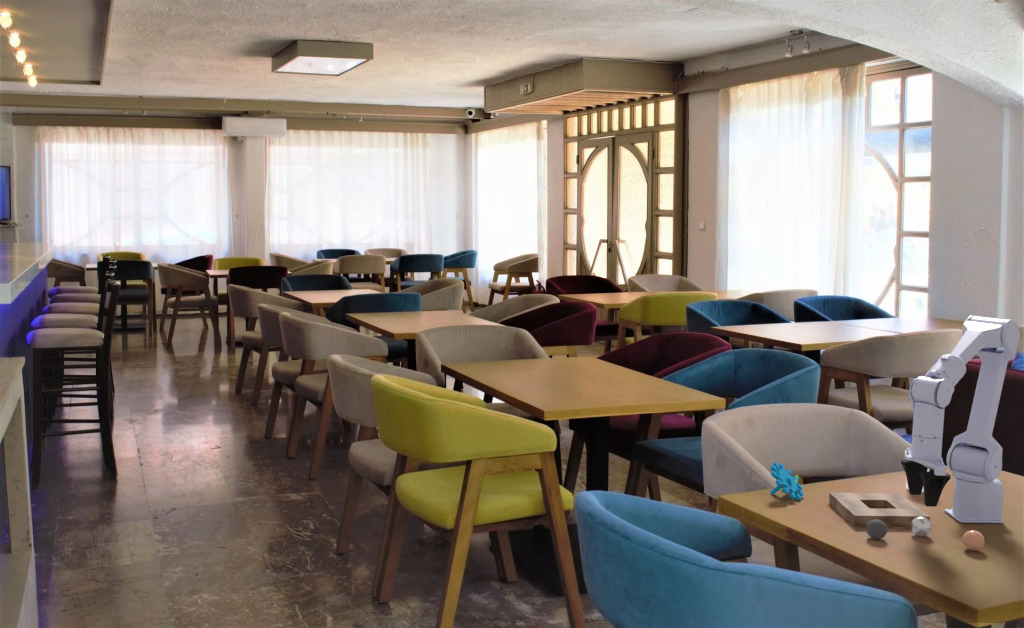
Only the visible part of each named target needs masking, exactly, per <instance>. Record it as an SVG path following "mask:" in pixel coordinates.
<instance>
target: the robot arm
mask: <svg viewBox="0 0 1024 628" xmlns="http://www.w3.org/2000/svg"><path fill="white" fill-rule="evenodd" d="M1020 336H1021V333H1020V329H1019V325H1018V324H1017V321H1016V320H1015V319H1011V318H1008V319H1005V318H998V317H997V318H996V317H986V316H977V315H973V314H970V315H969V316H968V317H967V318H966V319H965V321H964V322H963V324H962V330H961V338H960V339H959V340H958V342H957V343H956V345H955V346H954V348H953V349H952V351H951V353H946V354H942V355H941V356H940V357H939V358H938V359H937V361H936V362H935V363H934V364H933V365H932V366H931V367H930V368H929V370H928V371H927V372H926V373H925V374H924V376H923V375H920V376H917V377H915V378H914V379H913V380H912V382H911V384H910V387H909V390H908V397H909V400H910V408H911V412H913V418H912V434H911V435H912V436H911V447H906V455H905V454H904V459H901V460H900V464H901V465H902V468H903V470H904V472H905V478H906V477H907V483H908V489H909V490H908V489H907V490H908V492H909V495H910V496H921V495H922V493H923V500H924V501H923V502H924V506H925V507H937V506H938V503H939V501H940V498H941V495H942V492H943V491H944V488H945V486H946V485H947V484H948V482H949V481H950V480H951V477H952V476H953V477H954V484H953V496H952V499H953V500H952V508H945V509H944V512H945V513H946V514H948V515H949V516H951V517H952V518H953V519H955V520H957V521H958V522H959V523H963V524H965V523H966V524H967V523H971V524H972V523H973V524H977V523H978V524H1003V523H1004V520H1003V508H1004V498H1005V497H1004V495H1005V492H1004V486H1003V484H1002V482H1001V481H1000V479H998V478H999V476H1000V475H1001V472H1002V469H1003V447H1002V446H1001V444H999V442H998V441H997V440H996V439H995V437H993V431H994V427H995V422H996V418H997V413H998V409H999V404H1000V399H1001V395H1002V390H1003V385H1004V381H1005V378H1006V377H1005V376H1006V373H1007V367H1008V363H1009V362H1010V361H1012V360H1014V359H1015V357H1016V353H1017V350H1018V347H1019V346H1018V345H1019V341H1020ZM975 356H978V357H979V358H980V361H981V364H980V368H979V374H978V378H977V382H976V387H975V391H974V396H973V401H972V405H971V408H970V409H971V410H970V414H969V417H968V418H969V419H968V423H967V427H966V430H965V431H964V432H962V433H960V434H957V435H956V436H954V437H953V440H952V443H951V446H950V448H949V449H948V452H947V455H946V465H945V463H944V459H943V457H942V451H943V450H942V449H943V436H944V435H943V434H944V425H945V424H944V421H945V408H946V407H947V406H948V405H949V404H950V403H951V400H952V396H953V394H954V392H955V386H956V385H957V384H958V383H959V382H960V381H961V379H962V378H963V377H964V376H965V374H966V372H967V367H966V366H967V365H966V364H967V363H968V362H970V360H972V359H973V358H974V357H975ZM972 446H974V447H972ZM976 447H979V448H976ZM981 448H983V449H981ZM906 459H907V460H906ZM947 468H948V470H949V471H950V472H951V474H950V473H947ZM928 469H929V471H927V470H928ZM922 488H924V492H922Z"/></svg>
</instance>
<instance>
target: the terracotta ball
mask: <svg viewBox="0 0 1024 628" xmlns="http://www.w3.org/2000/svg"><path fill="white" fill-rule="evenodd" d="M961 540H962V544H963V546H964V548H966V549H967V550H969V551H973V552H976V551H980V550H982V548H983V547H984V545H985V537H984V536H983V534H982V533H981V532H980V531H979V530H975V529H972V530H967V531H966V532H965V533H964V534H963V535H962V539H961Z"/></svg>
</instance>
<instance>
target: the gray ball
mask: <svg viewBox="0 0 1024 628" xmlns="http://www.w3.org/2000/svg"><path fill="white" fill-rule="evenodd" d="M865 529H866V531H865V532H866V534H867V535H868V537H870V538H871V539H873V540H882V539H883V538H884V537H885V536H886V535H887V534H888V533H887V532H888V527H886V525H885V523H884V522H883V521H881V520H878V519H874V520H871V521H870V522H869V523H868V524H867V526H866V527H865Z"/></svg>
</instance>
